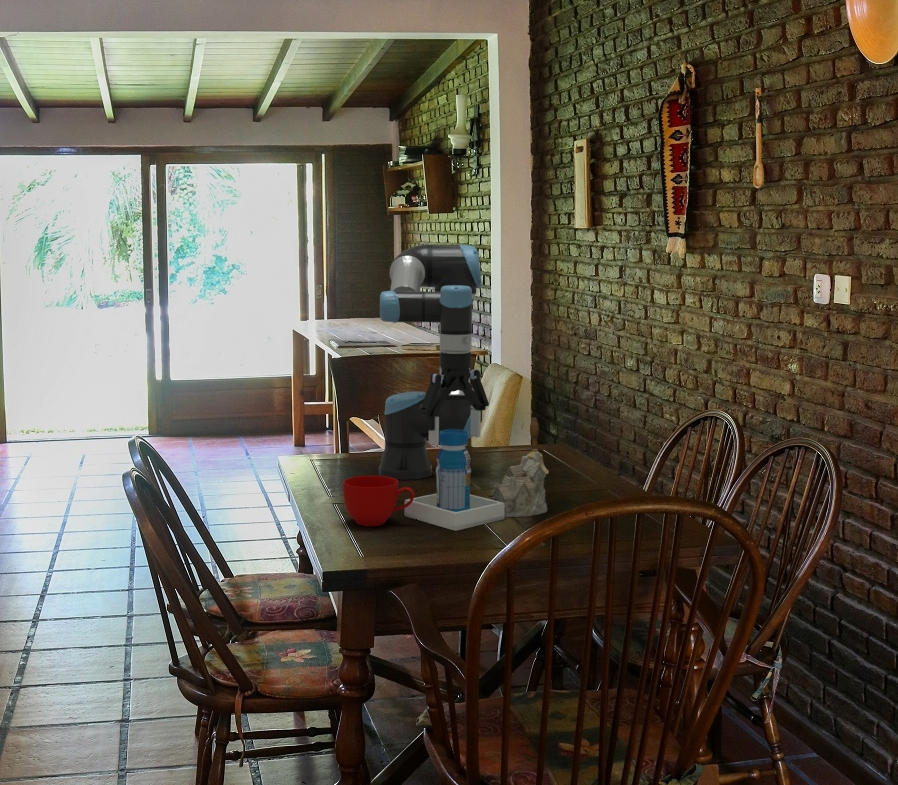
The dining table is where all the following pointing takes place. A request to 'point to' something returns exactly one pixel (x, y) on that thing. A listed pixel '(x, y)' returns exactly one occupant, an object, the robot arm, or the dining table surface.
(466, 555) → the dining table surface
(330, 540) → the dining table surface
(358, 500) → the ceramic cup
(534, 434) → the hand bell
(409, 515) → the tray
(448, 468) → the beverage bottle
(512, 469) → the ceramic cottage
